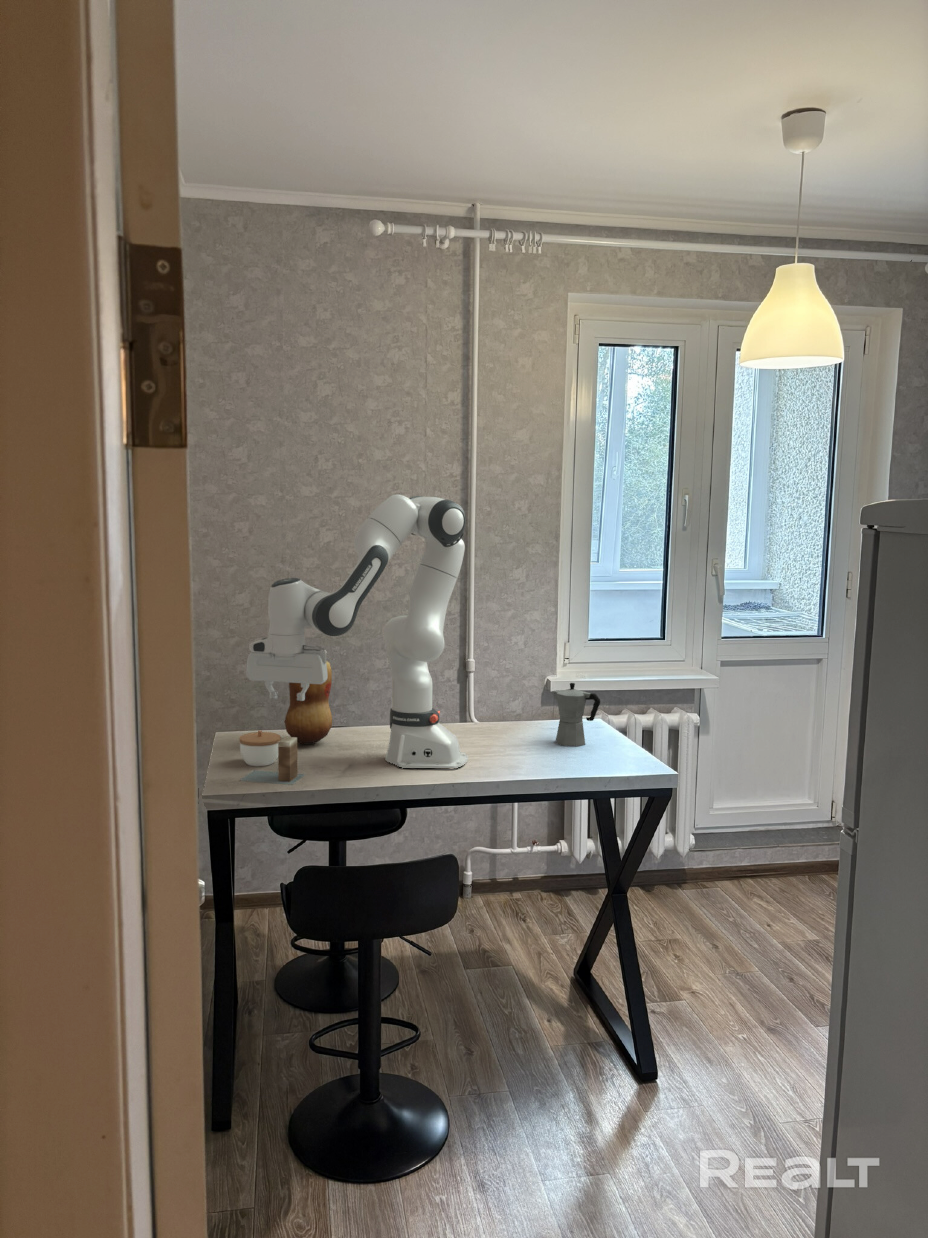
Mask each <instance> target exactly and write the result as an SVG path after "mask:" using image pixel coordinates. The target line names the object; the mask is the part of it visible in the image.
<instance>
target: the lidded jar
mask: <svg viewBox="0 0 928 1238" xmlns="http://www.w3.org/2000/svg"><path fill="white" fill-rule="evenodd" d="M238 740H239V751H240V756H241V758H242V760H243V762H244V763H246V765H248V766H250V767H251V766H252V767H266V766H270V765H273V764H274V763H275V762H276V760H278V742H279V741H280V740H282V736H281V735H280V734H278V733H275V732H272V731H271V732H269V731H263V730H258V731H257V732H256V731H255V732H250V733H245V734H242V735H240V736H239V737H238Z"/></svg>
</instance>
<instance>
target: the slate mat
mask: <svg viewBox="0 0 928 1238" xmlns="http://www.w3.org/2000/svg"><path fill="white" fill-rule="evenodd" d="M306 774H307V773H297V777H296V778H294V779H293V780H292V781H290V782H285V781H279V775H278V771H270V770H269V771H268V770H258V769H257V770H255V769H254V770H252V771H251V772H250V773H248V774H246V775H245V776H243V777H242V778H241V779H239V780H238V781H241V782H252V783H263V784H277V785H288V786H290V785H291V786H293V785H295V784H296V783H297V782H298V781H300V779H302V778H304V776H305V775H306Z"/></svg>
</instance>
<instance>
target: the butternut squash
mask: <svg viewBox="0 0 928 1238" xmlns="http://www.w3.org/2000/svg"><path fill="white" fill-rule="evenodd" d="M326 665H327V674H328V678H327V680H326V681H325V682H324V683H322V684H309V687H308V689H307V691H306V693H305V700H304V701H297V694H298V693H299V692H300V693H301V691H302V689H303V687H301V683H291V682H288V687H289V688H288V691H289V706H288V709H287V712H286V714H285V718H284V722H283V723H284V725H285V730H286V733H287V734H288V736H289V737H296V738H297V744H298V745H308V744H309V745H311V744H316V743H318V742H320V741H321V740H323V739H324V738H325V737H327V736H328V734H329V732H330V730H331V728H332V727H333V715H332V714H333V713H332V710H331V708H330V704H329V700H330V699H329V697H330V693H331V690H332V689H331V688H332V679H333V678H332V677H333V675H332V673H333V672H332V667H331V663H330V662H329V661H327V662H326Z"/></svg>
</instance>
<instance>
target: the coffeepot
mask: <svg viewBox="0 0 928 1238" xmlns="http://www.w3.org/2000/svg"><path fill="white" fill-rule="evenodd" d="M575 685H576V683H575V682H570V683H569V688H568V689H559V690H552V691H551V692H550V693H551V694H552V695H553V697H554V699H555V701H556V703H557V705H558V706H557V707H558V715H559V722H558V727H557V731H556V738H555V743H556V744H557V745H560V746H563V747H581V746H584V745H586V739H585V732H584V730H585V729H584V722H583V717H584V714H585V709H586V708H585V707H586V702H587V701H588V700H592V701H594V702H593V704H592V709H591V711H590V717H589V716H586V721H588V722H592V721H594V720H595V717H596V715H597V712H598V709H599V706H600V705H601V699H600V698H599V696H598V695H597V694H596V693H591V692H587V691H584V690H579V689H575Z"/></svg>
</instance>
